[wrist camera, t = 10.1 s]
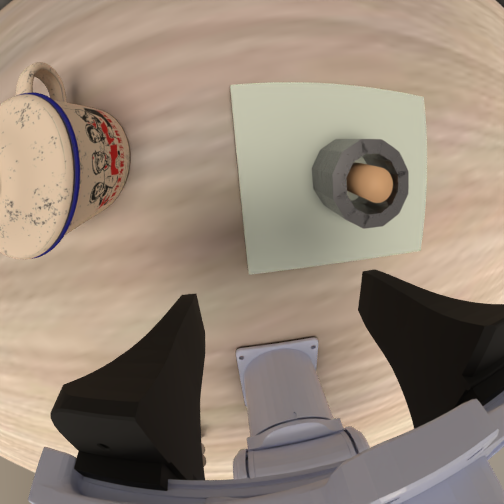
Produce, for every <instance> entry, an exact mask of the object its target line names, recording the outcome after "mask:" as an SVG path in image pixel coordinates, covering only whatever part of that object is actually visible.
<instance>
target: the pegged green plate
mask: <svg viewBox="0 0 504 504" xmlns="http://www.w3.org/2000/svg"><path fill="white" fill-rule="evenodd" d="M230 93H231V104H232V114H233V125H234V135H235V146H236V156H237V166H238V176H239V187H240V197H241V207H242V216H243V226H244V236H245V246H246V256H247V265H248V272H249V275H251V274H259V273H267V272H275V271H283V270H291V269H299V268H306V267H314V266H321V265H328V264H336V263H343V262H350V261H357V260H364V259H371V258H377V257H384V256H390V255H397V254H403V253H410V252H416V251H421V244H422V236H423V227H424V217H425V205H426V187H427V135H426V118H425V106H424V97H421V96H417V95H412V94H407V93H402V92H396V91H390V90H384V89H377V88H370V87H362V86H353V85H342V84H328V83H305V82H274V83H251V84H236V85H230ZM335 139H382V140H384V141H385V142H387V143H388V144H389V145H391V146H392V147H394V148H395V149H396V150H398V151H399V152H400V154H401V156H402V158H403V160H404V163H405V165H406V167H407V169H408V171H409V189H408V196H407V198H406V200H405V202H404V204H403V207H402V209H401V211H400V213H399V214H398V215H397V216H395V217H394V218H393V219H392V220H390V221H389V222H388V223H387V224H385V225H384V226H381V227H374V228H366V229H363V228H361V227H359V226H357V225H355V224H353V223H351V222H349V221H347V220H345V219H344V218H342V217H341V216H339V215H338V214H336V213H335V212H333V211H332V210H330V209H329V208H327V207H326V206H324V205H323V203H322V202H321V200H320V199H319V197H318V196H317V194H316V192H315V191H314V189H313V180H312V166H313V164H314V162H315V160H316V158H317V155H318V153H319V151H320V150H321V149H322V148H323V147H325V146H326V145H328V144H329V143H331V142H332V141H334V140H335ZM346 179H347V195H348V197H349V199H350V200H355V199H357V198H358V197H359V196H360V197H362V198H365V199H367V200H369V201H371V202H374V203H381V202H383V201H385V200H386V199H387V198H388V197H389V196H390V194H391V192H392V188H393V181H392V177H391V175H390V173H389V172H388V171H387V170H386V169H384V168H381V167H377V166H372V165H367V163H366V162H365V160H364V158H363V157H360V158H359V159H358V160H356V161H355V162H353V164H352V167H351V169H350V171H349V173H348V175H347V177H346Z"/></svg>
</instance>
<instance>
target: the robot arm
mask: <svg viewBox="0 0 504 504" xmlns="http://www.w3.org/2000/svg"><path fill="white" fill-rule="evenodd" d="M358 311H359V313H360V315H361V318H362V320H363V322H364V324H365V326H366V328H367V329H368V331H369V332H370V334H371V335H372V337H373V339H374V340H375V342H376V343H377V345H378V346H379V348H380V349H381V351H382V352H383V354H384V355H385V357H386V358H387V360H388V362H389V363H390V365H391V367H392V369H393V371H394V373H395V375H396V377H397V379H398V382H399V384H400V386H401V389H402V391H403V394H404V396H405V399H406V402H407V405H408V408H409V411H410V414H411V417H412V421H413V425H414V429H413V430H411V431H409V432H406V433H404V434H402V435H399V436H397V437H394V438H392V439H389V440H387V441H384V442H382V443H380V444H378V445H376V446H373V447H371V448H370V447H369V445H368V442H367V440H366V439H365V437H364V436H363V434H362V433H361V432H360V431H358V430H356V429H355V428H353V427H351V426H348V427H346V428H343V426H342V423H341V421H340V418H337V419H333V416H332V413H331V410H330V408H329V405H328V402H327V400H326V397H325V394H324V392H323V389H322V386H321V384H320V381H319V378H318V376H317V373H316V366H317V354H318V339H317V338H315V337H312V338H307V339H301V340H295V341H289V342H282V343H276V344H269V345H261V346H254V347H245V348H239V349H237V350H236V358H237V364H238V369H239V375H240V380H241V386H242V391H243V396H244V402H245V406H246V407H247V411H248V420H249V429H250V437H248V438H247V443H248V449H241V450H240V451H239V452H238V454H237V455H236V456H235V458H234V461H233V477H234V479H232V480H205V476H204V468H203V457H202V445H201V427H200V394H201V385H202V376H203V368H204V359H205V330H204V326H203V322H202V317H201V313H200V308H199V304H198V299H197V295H196V294H188V295H182V296H181V297H180V298H179V299H178V300H177V301H176V303H175V304H174V305H173V306H172V307H171V309H170V310H169V311H168V312H167V313H166V314H165V316H164V317H163V318H162V319H161V320H160V321H159V322H158V323H157V324H156V325H155V326H154V328H153V329H152V330H151V331H150V332H149V333H148V334H147V335H146V336H145V337H143V338H142V339H141V340H140V341H139V342H138V343H137V344H135V345H134V346H133V347H132V348H130V349H129V350H128V351H126V352H125V353H124V354H122V355H121V356H119V357H118V358H116V359H115V360H113V361H112V362H110V363H109V364H107V365H105V366H104V367H102V368H100V369H98V370H96V371H94V372H92V373H90V374H88V375H86V376H84V377H82V378H79V379H77V380H74V381H72V382H70V383H67V384H64V385H63V387H62V389H61V391H60V393H59V396H58V398H57V400H56V402H55V404H54V407H53V409H52V411H51V419H52V422H53V424H54V426H55V427H56V428H57V429H58V431H59V432H60V433H61V434H62V435H63V436H64V437H65V438H66V439H67V440H68V441H69V442H70V443H71V444H72V445H73V446H74V447H75V448H76V449H77V450H78V451H79V452H78V455H77V458H76V457H74V456H72V455H70V454H67V453H65V452H61V451H58V450H55V449H51V448H48V447H44V449H43V451H42V454H41V457H40V460H39V463H38V466H37V470H36V473H35V476H34V480H33V483H32V487H31V491H30V494H29V498H28V501H29V502H30V503H31V504H504V490H503V488H502V486H501V484H500V482H499V480H498V478H497V477H496V475H495V473H494V471H493V469H492V468H491V466H490V464H489V462H488V461H487V460H488V459H490V458H491V457H492V456H493V455H494V454H496V453H497V452H498V451H499V450H500V449H501V448H502V447H504V304H483V303H475V302H468V301H463V300H458V299H454V298H450V297H446V296H443V295H439V294H436V293H433V292H430V291H428V290H425V289H422V288H420V287H417V286H415V285H412V284H410V283H408V282H405V281H403V280H401V279H398V278H396V277H393V276H391V275H389V274H386V273H383V272H381V271H377V270H369V271H363V273H362V282H361V291H360V299H359V307H358ZM313 345H314V346H313ZM311 346H313V347H311ZM240 356H243V357H240Z"/></svg>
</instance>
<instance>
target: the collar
mask: <svg viewBox="0 0 504 504" xmlns="http://www.w3.org/2000/svg"><path fill="white" fill-rule="evenodd" d="M360 157H363V158H364V160H365V162H366V163H367V165H372V166H377V167H381V168H384V169H386V170H387V171H388V172H389V173H390V175H391V177H392V181H393V188H392V192H391V194H390V196H389V197H388V198H387V199H386V200H385V201H383V202H381V203H374V202H371V201H369V200H367V199H365V198H362V197H360V196H359V197H358V198H357V199H355V200H350V199H349V197H348V195H347V179H346V177H347V175H348V173H349V171H350V169H351V167H352V164H353V162H355V161H356V160H358V159H359V158H360ZM312 180H313V189H314V191H315V192H316V194H317V196H318V197H319V199H320V200H321V202H322V203H323V205H324V206H326V207H327V208H329V209H330V210H332V211H333V212H335V213H336V214H338V215H339V216H341V217H342V218H344V219H345V220H347V221H349V222H351V223H353V224H355V225H357V226H359V227H361V228H363V229H366V228H374V227H381V226H384V225H385V224H387V223H388V222H389V221H390V220H392V219H393V218H394V217H395V216H397V215H398V214H399V213H400V211H401V209H402V207H403V204H404V202H405V200H406V198H407V196H408V189H409V171H408V169H407V167H406V165H405V163H404V160H403V158H402V156H401V154H400V152H399V151H398V150H396V149H395V148H394V147H392V146H391V145H389V144H388V143H387V142H385V141H384V140H382V139H335V140H334V141H332V142H331V143H329V144H328V145H326V146H325V147H323V148H322V149H321V150H320V151H319V153H318V155H317V158H316V160H315V162H314V164H313V166H312Z"/></svg>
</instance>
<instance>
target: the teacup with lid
mask: <svg viewBox="0 0 504 504" xmlns="http://www.w3.org/2000/svg"><path fill="white" fill-rule="evenodd" d="M34 76H35V77H37V78H38V79H40V80H41V81H42V82H43V83H44V84H45V86H46V88H47V89H48V92H49V95H50V98H49V97H48V96H45V95H43V94H39V93H33V79H34ZM129 163H130V153H129V146H128V141H127V138H126V135H125V133H124V131H123V129H122V127H121V126H120V124H119V123H118V122H117V121H116V120H115V119H114V118H113V117H112V116H111V115H109V114H108V113H106V112H104V111H102V110H99V109H95V108H91V107H86V106H81V105H76V104H71V103H66V95H65V89H64V86H63V83H62V80H61V78H60V77H59V75H58V74H57V72H56V71H55V70H54V69H53V68H52V67H51V66H50V65H48V64H46V63H43V62H37V63H34V64H32V65H30V66H29V67H27V68H26V69H25V70H24V71H23V72H22V74H21V75H20V77H19V80H18V83H17V88H16V96H14V97H12V98H10V99H8V100H6V101H5V102H3V103H2V104H0V252H1V253H3V254H4V255H6V256H9V257H12V258H16V259H33V258H37V257H40V256H42V255H45V254H46V253H48V252H49V251H51V250H52V249H53V248H54V247H55V246H56V245H57V244H58V243H59V242H60V241H61V239H62V238H63V237H64V235H66V234H67V233H69V232H70V231H72V230H73V229H75V228H76V227H78V226H79V225H81V224H82V223H84V222H85V221H87V220H89V219H90V218H92V217H93V216H95V215H97V214H98V213H100V212H101V211H103V210H104V209H106V208H107V207H108V206H110V205H111V204H112V203H113V201H114V200H115V199H116V198H117V197H118V195H119V194H120V192H121V190H122V188H123V186H124V184H125V182H126V179H127V175H128V171H129Z"/></svg>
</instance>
